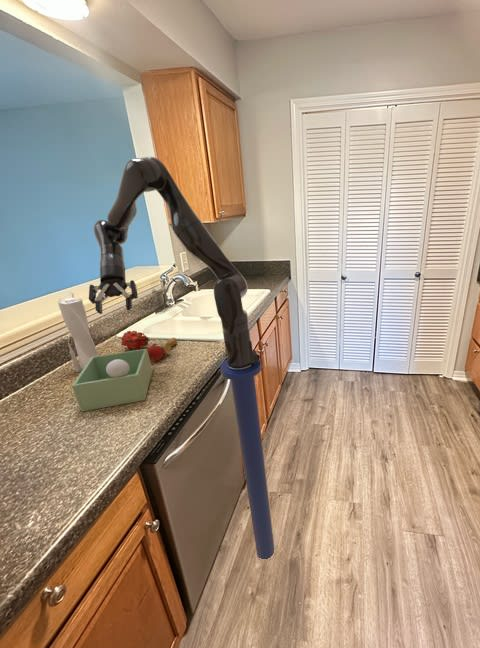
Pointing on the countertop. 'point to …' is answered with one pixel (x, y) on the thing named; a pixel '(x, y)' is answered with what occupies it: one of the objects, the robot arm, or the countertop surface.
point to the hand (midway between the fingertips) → (114, 311)
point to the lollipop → (117, 368)
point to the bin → (113, 381)
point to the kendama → (160, 349)
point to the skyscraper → (78, 331)
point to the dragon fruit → (134, 340)
